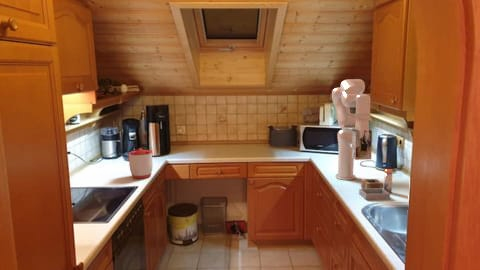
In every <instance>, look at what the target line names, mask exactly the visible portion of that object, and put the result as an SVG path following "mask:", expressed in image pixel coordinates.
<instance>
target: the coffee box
mask: <svg viewBox="0 0 480 270" xmlns="http://www.w3.org/2000/svg"><path fill="white" fill-rule="evenodd" d="M372 134H373V130H371V129H369V137H368V141H367V151H361V144H362V138H361V139H359V131H358V130H352V144H351V147H352V158H353V159H354V161H359V160H360V161H363V160H372V153H373V152H372V149H373V148H372V147H373V146H372V145H373V144H372V141H373V139H372V138H373V135H372ZM363 138H365V137H363ZM363 141H364V139H363Z"/></svg>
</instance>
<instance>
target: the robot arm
mask: <svg viewBox="0 0 480 270" xmlns="http://www.w3.org/2000/svg"><path fill="white" fill-rule="evenodd" d="M365 90H366V84H365V81H364V80H362V79H360V78H355V79H354V78H353V79H344V80H343V81H341V83H340V86H339V87H335V88H334V89H332V91H331V99H332V103H333V105H334V108H335V112H336V118H337V119H336V120H337V125H338V127H339V128H340V130H339V131H338V132H337V134H336V135H337V137H336V138H337V142H338V143H337V145H338V160H337V162H338V163H337V174H335V178H336V179H339V180H344V181H351V180H355V179H356V178H357V177H356V175H355V174H354V161H355V159H353V158H352V130H358V131H359V139H361V138H362V144H361V151H367V141H368V137H369V130H370V123H369V121H370V120H371V96H370V95H369V94H367V93H364V92H365ZM351 108H355V113H351V110H350V109H351ZM363 137H365V138H363ZM363 139H364V141H363Z"/></svg>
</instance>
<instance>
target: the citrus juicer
mask: <svg viewBox="0 0 480 270" xmlns="http://www.w3.org/2000/svg"><path fill="white" fill-rule="evenodd" d="M127 154H128V155H127V156H128V157H127V158H126V159H125V161H128V164H129V165H128V166H129V170H130V173H131V176H132V178H133V179H135V178H136V179H147V178H150V177H151V175H152V173H153V172H152V171H153V151H152V150H149V149H143V148H141V147H139V148H138V149H137V150H132V151H130V153H127Z"/></svg>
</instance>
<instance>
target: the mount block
mask: <svg viewBox="0 0 480 270" xmlns="http://www.w3.org/2000/svg"><path fill="white" fill-rule="evenodd" d="M360 182H361V184H360V187H361V188H360V189H374V188H383V189H384V183H383V182H382V181H380V180H379V179H377V178H364V179H363V178H362V179H361V181H360Z"/></svg>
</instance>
